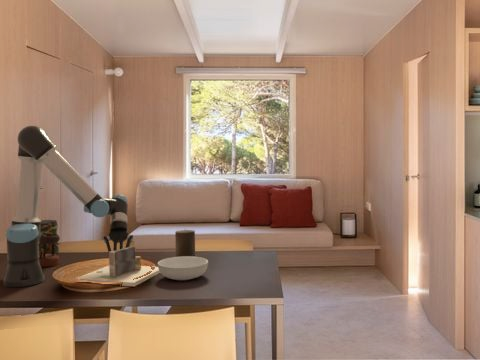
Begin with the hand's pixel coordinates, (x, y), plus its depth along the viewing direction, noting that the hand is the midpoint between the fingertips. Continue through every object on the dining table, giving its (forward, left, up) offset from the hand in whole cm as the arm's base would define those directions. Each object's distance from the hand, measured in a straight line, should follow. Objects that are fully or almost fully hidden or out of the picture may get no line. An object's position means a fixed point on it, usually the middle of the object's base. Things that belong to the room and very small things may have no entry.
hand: (117, 269), depth 191 cm
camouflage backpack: (+35, +64, -3) cm, 73 cm away
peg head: (+2, -3, -1) cm, 4 cm away
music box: (+15, +47, -3) cm, 49 cm away
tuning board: (+3, 0, -3) cm, 4 cm away
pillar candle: (+41, -13, -3) cm, 43 cm away
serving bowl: (+6, -27, -4) cm, 28 cm away
